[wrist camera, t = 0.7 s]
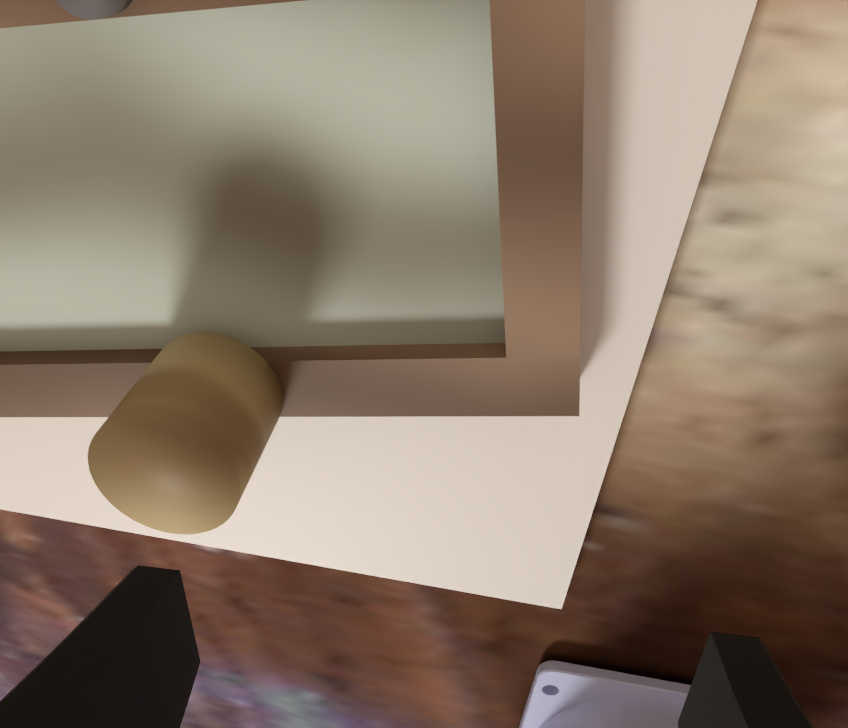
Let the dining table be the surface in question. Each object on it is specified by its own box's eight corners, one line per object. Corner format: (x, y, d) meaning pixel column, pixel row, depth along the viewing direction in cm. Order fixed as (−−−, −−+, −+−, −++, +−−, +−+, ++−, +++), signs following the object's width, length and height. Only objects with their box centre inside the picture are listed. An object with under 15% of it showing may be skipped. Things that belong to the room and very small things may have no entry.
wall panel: (560, 587, 22) (561, 611, 22) (-128, 465, 23) (-149, 484, 23) (845, -320, 11) (865, -332, 11) (-484, -480, 12) (-548, -502, 12)
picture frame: (576, 411, 18) (585, 544, 14) (-37, 412, 20) (-158, 526, 17) (583, -140, 12) (599, -143, 9) (-270, -41, 15) (-525, -14, 11)
